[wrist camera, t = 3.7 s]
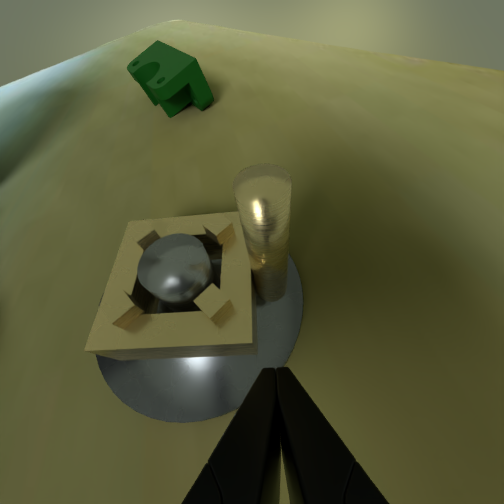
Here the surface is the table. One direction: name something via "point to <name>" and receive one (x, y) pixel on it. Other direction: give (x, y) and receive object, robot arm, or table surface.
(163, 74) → the green mounting bracket
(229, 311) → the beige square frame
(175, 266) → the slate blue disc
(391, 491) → the table surface
